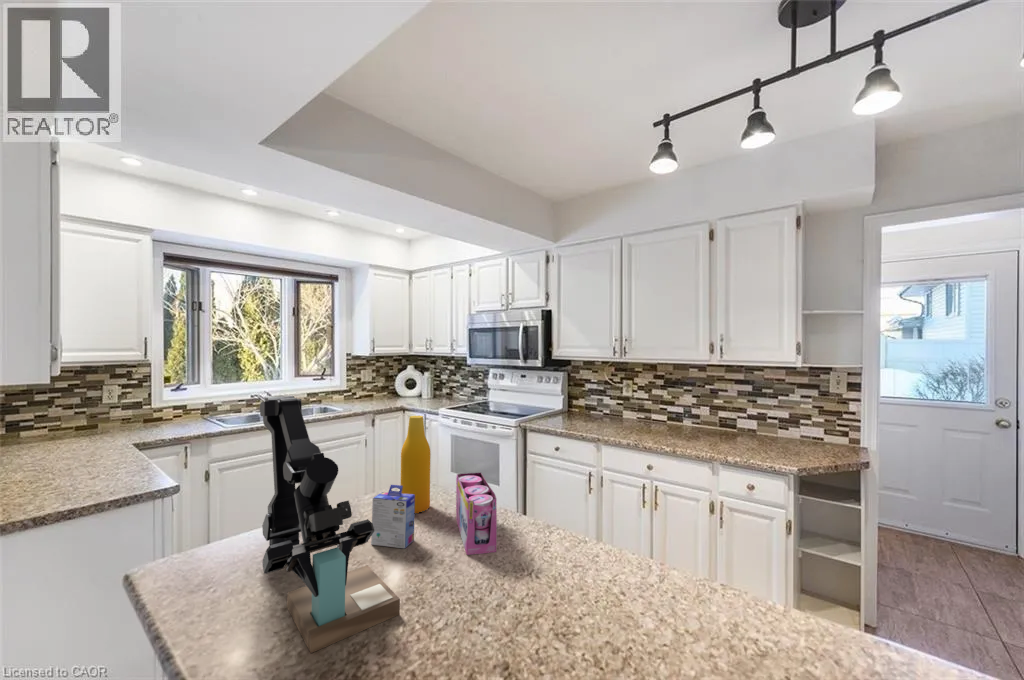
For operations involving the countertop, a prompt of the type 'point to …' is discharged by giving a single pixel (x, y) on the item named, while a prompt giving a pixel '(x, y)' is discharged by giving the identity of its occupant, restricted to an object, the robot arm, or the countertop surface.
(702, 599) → the countertop surface
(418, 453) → the beer bottle
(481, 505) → the gum box
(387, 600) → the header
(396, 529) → the ink cartridge box
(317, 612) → the plug
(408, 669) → the countertop surface
